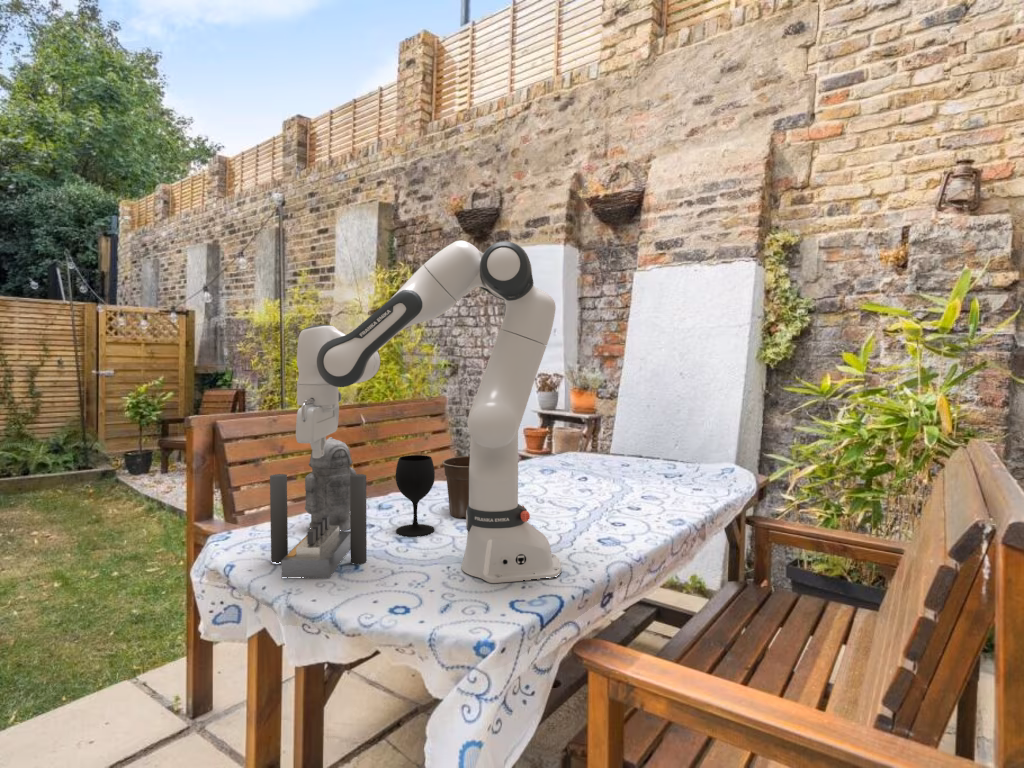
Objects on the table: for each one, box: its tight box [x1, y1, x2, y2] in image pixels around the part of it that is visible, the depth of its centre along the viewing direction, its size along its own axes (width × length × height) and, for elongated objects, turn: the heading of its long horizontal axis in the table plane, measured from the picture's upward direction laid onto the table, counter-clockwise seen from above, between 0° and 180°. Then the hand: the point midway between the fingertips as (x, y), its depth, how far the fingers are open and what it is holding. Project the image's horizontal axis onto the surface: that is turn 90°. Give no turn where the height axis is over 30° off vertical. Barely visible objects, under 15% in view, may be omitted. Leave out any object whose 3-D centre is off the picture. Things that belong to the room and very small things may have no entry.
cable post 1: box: [269, 473, 289, 563], centre depth 133 cm, size 4×4×20 cm
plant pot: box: [441, 455, 470, 519], centre depth 174 cm, size 16×16×16 cm
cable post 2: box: [349, 473, 368, 565], centre depth 134 cm, size 4×4×20 cm
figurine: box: [304, 436, 357, 531], centre depth 159 cm, size 10×14×25 cm
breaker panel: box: [280, 526, 350, 579], centre depth 134 cm, size 10×20×6 cm, turn 2°
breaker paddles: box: [306, 515, 329, 544], centre depth 133 cm, size 1×13×3 cm, turn 2°
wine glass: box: [395, 454, 436, 538], centre depth 157 cm, size 10×10×20 cm
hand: (318, 457), depth 133 cm, fingers closed
